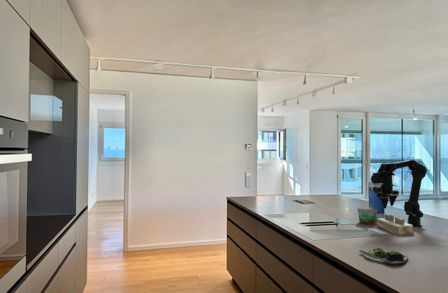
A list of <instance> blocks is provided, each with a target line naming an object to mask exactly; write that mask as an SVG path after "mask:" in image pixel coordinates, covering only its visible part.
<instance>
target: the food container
mask: <svg viewBox="0 0 448 293" xmlns="http://www.w3.org/2000/svg"><path fill="white" fill-rule="evenodd" d="M356 210H357V212H358V220H359V223H360V224H362V225H367V226H369V225H370V226H371V225H372V226H373V225H376V224H375V223H376V219H377V218H376V213H377V210H376V209H375V210H370V209H369V208H359V207H357V209H356Z"/></svg>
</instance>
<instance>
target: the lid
mask: <svg viewBox="0 0 448 293" xmlns="http://www.w3.org/2000/svg"><path fill="white" fill-rule="evenodd" d="M394 219H395V222H387V224H390V225H393V226H396V227H413V225H411V224H408V222H405V219H404V218H401V217H394Z"/></svg>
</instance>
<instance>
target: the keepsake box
mask: <svg viewBox="0 0 448 293" xmlns="http://www.w3.org/2000/svg"><path fill="white" fill-rule="evenodd" d="M376 227H377V228H379V229H382V230H384V231H387V232H389V233H391V234H394V235H396V236H411V235H413V236H414V235H415V230H414V229H415V227H396V226H393V225H390V224H387V223H385V222H382V221H379V220H376Z"/></svg>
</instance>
